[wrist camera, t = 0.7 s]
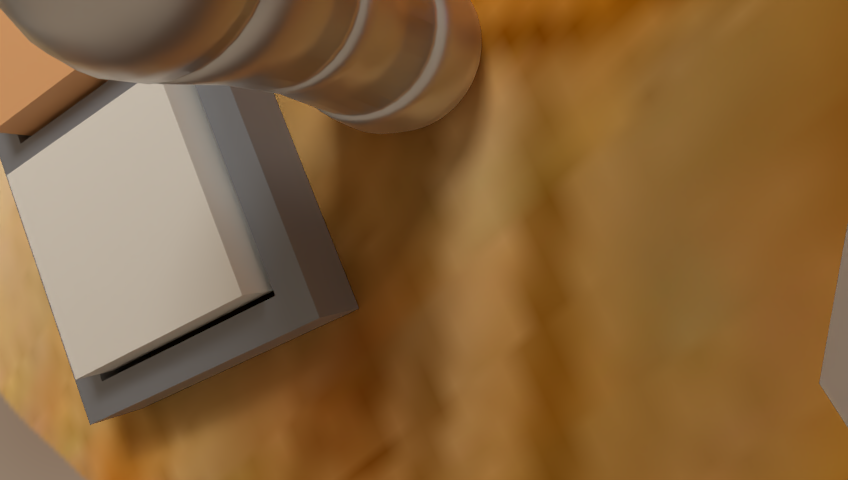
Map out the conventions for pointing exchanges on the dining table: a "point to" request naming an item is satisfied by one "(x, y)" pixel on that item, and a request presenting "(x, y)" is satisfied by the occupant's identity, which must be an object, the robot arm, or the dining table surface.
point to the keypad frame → (272, 232)
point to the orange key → (35, 83)
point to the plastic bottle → (276, 50)
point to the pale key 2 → (137, 228)
